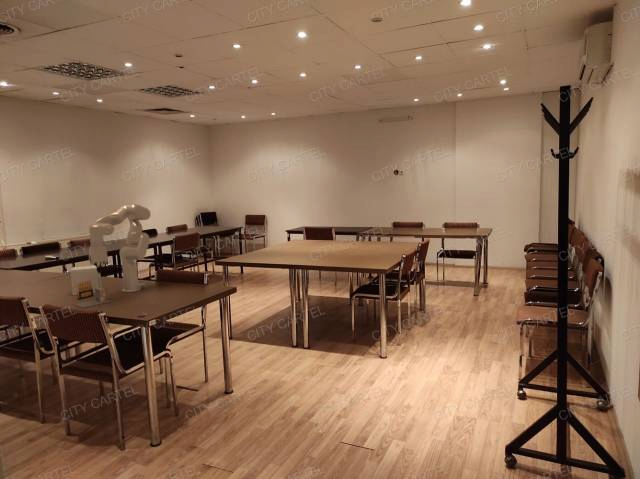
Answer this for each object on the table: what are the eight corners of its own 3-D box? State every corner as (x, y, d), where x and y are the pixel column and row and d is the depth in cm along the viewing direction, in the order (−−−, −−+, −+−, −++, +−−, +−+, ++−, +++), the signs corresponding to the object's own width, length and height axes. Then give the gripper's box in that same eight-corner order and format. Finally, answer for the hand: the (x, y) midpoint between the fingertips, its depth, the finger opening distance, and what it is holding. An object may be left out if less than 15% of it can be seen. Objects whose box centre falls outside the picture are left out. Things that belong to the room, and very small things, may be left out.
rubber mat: (102, 299, 304) (101, 298, 304) (111, 302, 295) (111, 301, 295) (73, 304, 291) (73, 303, 291) (82, 308, 282) (82, 307, 282)
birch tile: (100, 299, 300) (99, 287, 299) (105, 301, 296) (104, 288, 295) (95, 300, 298) (94, 288, 297) (100, 302, 293) (99, 289, 292)
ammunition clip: (79, 299, 304) (77, 282, 302) (77, 299, 305) (75, 281, 303) (93, 296, 313) (92, 278, 312) (91, 295, 314) (90, 278, 313)
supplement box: (102, 289, 334) (100, 264, 332) (99, 293, 322) (97, 267, 319) (75, 291, 329) (73, 266, 327) (72, 295, 316) (69, 269, 314)
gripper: (106, 242, 301) (108, 270, 303) (82, 245, 290) (85, 274, 292) (111, 243, 296) (114, 271, 298) (87, 246, 285) (90, 275, 287)
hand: (100, 272), depth 295 cm, fingers closed
